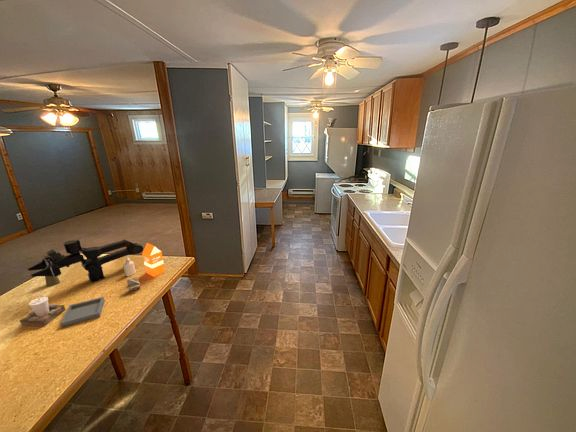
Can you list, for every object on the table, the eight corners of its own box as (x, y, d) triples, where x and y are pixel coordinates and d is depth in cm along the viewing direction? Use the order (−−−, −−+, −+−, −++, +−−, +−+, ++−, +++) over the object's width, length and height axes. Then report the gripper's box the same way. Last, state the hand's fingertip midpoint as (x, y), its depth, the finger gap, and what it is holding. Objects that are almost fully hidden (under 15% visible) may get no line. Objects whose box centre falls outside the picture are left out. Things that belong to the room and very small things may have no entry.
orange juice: (153, 277, 147) (147, 248, 141) (145, 272, 152) (140, 244, 146) (165, 271, 154) (160, 243, 147) (157, 267, 158) (152, 240, 152)
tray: (70, 309, 119) (69, 305, 118) (104, 300, 125) (103, 296, 125) (62, 327, 107) (60, 323, 107) (100, 316, 114) (99, 312, 113)
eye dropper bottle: (125, 273, 150) (121, 257, 147) (135, 271, 154) (132, 254, 150) (125, 276, 147) (121, 259, 143) (136, 274, 150) (132, 257, 146)
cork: (51, 287, 136) (45, 270, 133) (43, 285, 137) (37, 269, 134) (63, 281, 142) (57, 265, 138) (55, 280, 143) (49, 264, 140)
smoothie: (57, 314, 115) (48, 290, 111) (40, 323, 109) (30, 298, 105) (48, 311, 117) (39, 287, 113) (32, 320, 111) (22, 295, 107)
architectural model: (140, 290, 135) (138, 279, 132) (126, 294, 131) (123, 283, 129) (140, 287, 137) (138, 276, 135) (126, 291, 134) (123, 280, 131)
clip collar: (44, 309, 118) (42, 303, 117) (65, 310, 118) (63, 303, 117) (21, 325, 108) (19, 319, 107) (45, 325, 108) (42, 319, 107)
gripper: (60, 243, 135) (20, 253, 123) (69, 252, 124) (26, 264, 112) (66, 259, 138) (28, 271, 127) (75, 270, 128) (35, 284, 116)
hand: (29, 272), depth 120 cm, fingers open, 9 cm apart
